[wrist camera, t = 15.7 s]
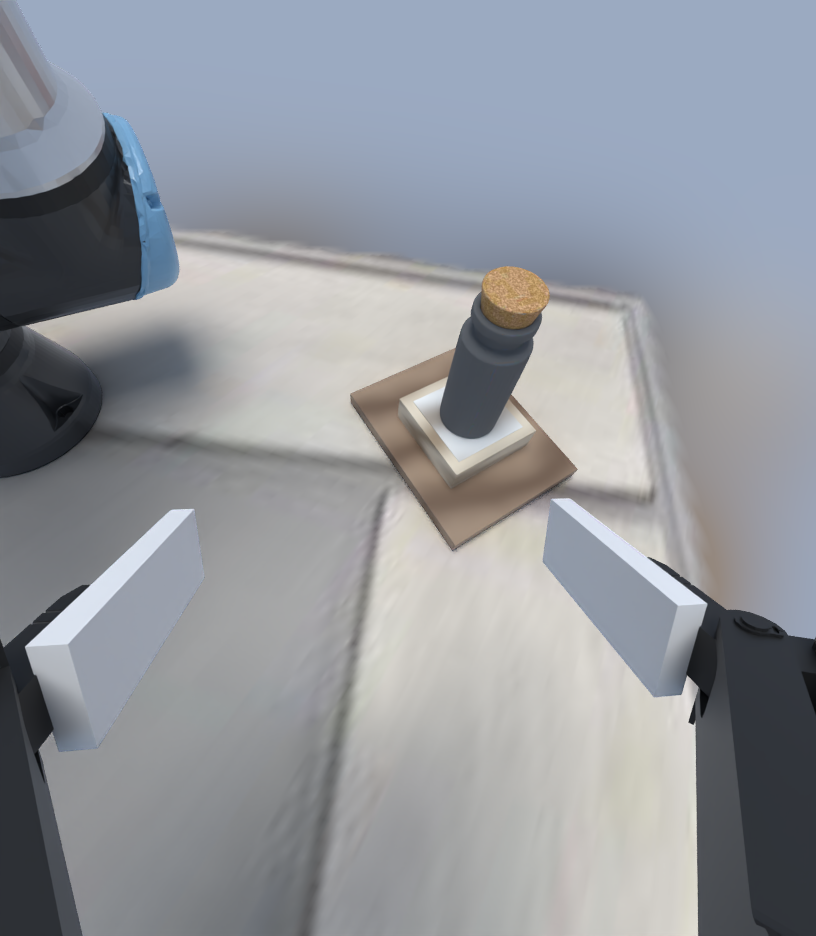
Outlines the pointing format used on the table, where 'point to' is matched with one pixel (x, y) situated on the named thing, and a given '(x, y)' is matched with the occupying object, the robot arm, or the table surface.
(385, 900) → the table surface
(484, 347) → the bottle
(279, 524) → the table surface
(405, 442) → the plinth
